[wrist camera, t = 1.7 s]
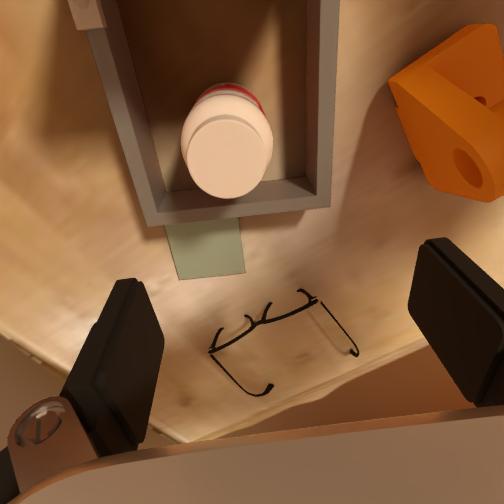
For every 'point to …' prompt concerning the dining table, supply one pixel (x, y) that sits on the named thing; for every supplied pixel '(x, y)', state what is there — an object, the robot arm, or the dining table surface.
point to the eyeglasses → (263, 321)
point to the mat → (206, 248)
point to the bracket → (457, 112)
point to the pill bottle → (227, 141)
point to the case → (141, 143)
